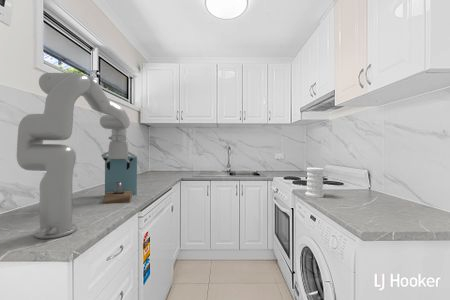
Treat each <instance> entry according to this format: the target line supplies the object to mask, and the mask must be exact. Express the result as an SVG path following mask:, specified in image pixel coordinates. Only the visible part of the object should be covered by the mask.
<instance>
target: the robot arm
mask: <svg viewBox="0 0 450 300" xmlns="http://www.w3.org/2000/svg"><path fill="white" fill-rule="evenodd" d="M38 84H39V85H38V87H40V89H41V91H42V92H43V93H45V94H46V97H45V103H44V110H43V113H30V114H27V115H25V116H23V117H22V119H21V120H20V122H19V124H18V129H17V139H16V140H17V142H16V161H17V165H19V167H20V168H21V169H23V170H24V171H25V170H26V171H31V172H32V171H34V172H35V171H39V172H41V171H42V172H45V174H44V175H43V176H42V178H41V180H40V182H39V228H38V229H36V230H35V231H34V232H33V236H34V238H36V239H42V240H43V239H46V240H47V239H54V238H55V239H56V238H61V237H65V236H67V235H71V234H73V233H75V232H76V231H77V230H78V225H77V224H76V223H73V175H74V168H75V164H76V158H77V155H76V152H75V150H74V149H73V148H72V147H71V146H69V145H66V144H58V143H55V144H54V143H44V141H66V140H68V139H70V138H71V136H72V133H73V128H74V127H73V124H74V109H75V108H74V107H75V103H76V101H77V100H78V99H79V98H80V97H82V98H84V100H85V101H86V103H87V104H88V106H89V107H90V108H91V109H92V110H93V111H95V112H98V113H101V114H104V115H101V117H100V118H99V124H100V126H101V128H103V129H105V130H111V136H108V140H110V141H109V144H108V151H107V152H104V153H102V154H101V158H102V159H103V161H104V162H105V161H106V162H107V168H108V170H110V160H111V159H126V161H127V170H128V168H130V162H131V161H132V160H133V158H134V157H135V156H136V155H135V154H134V153H132V152H130V151H129V144H128V141H127V129H128V128H129V127H130V123H131V120H130V118H129V116H128V114H127V112H126V110H125V109H124V108H123V107H122V106H120V105H119V104H118V103H116V102H114V101H112V100H111V99H109V98H108V96H107V95H106V93H105V92H104V90H103V88H102V87H101V85H100V84H99V82H98V80H97V79H96V78H95V77H93V76H91V75H86V74H83V73H80V72H45V73H43V74H42V75H40V76H39V79H38ZM105 156H108V158H109V159H106V157H105ZM128 156H132V157H131V159H130V160H129V159H128Z"/></svg>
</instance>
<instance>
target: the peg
mask: <svg viewBox="0 0 450 300" xmlns="http://www.w3.org/2000/svg"><path fill="white" fill-rule="evenodd" d="M115 194H122V182H115Z"/></svg>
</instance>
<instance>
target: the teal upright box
mask: <svg viewBox="0 0 450 300" xmlns="http://www.w3.org/2000/svg"><path fill="white" fill-rule="evenodd" d="M105 157H106V159H109V158H108V155H105ZM131 157H132V156H131V155H128V159H129V160H130V159H131ZM115 182H122V191H130V190H132V196H137V194H138V155H135V157H134V158H133V160H132V161H131V162H130V168H128V170H127V161H126V159H111V160H110V170H108V168H107V162H106V161H105V160H104V195H105V194H106V193H107V192H108V191H115Z"/></svg>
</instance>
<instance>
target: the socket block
mask: <svg viewBox="0 0 450 300" xmlns="http://www.w3.org/2000/svg"><path fill="white" fill-rule="evenodd" d="M132 196H133V195H132V190H130V191H122V194H115V191H108V192H107V193H106V194H105V193H104V195H103V205H105V204H120V203H121V204H123V203H131V200H132V198H133V197H132Z"/></svg>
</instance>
